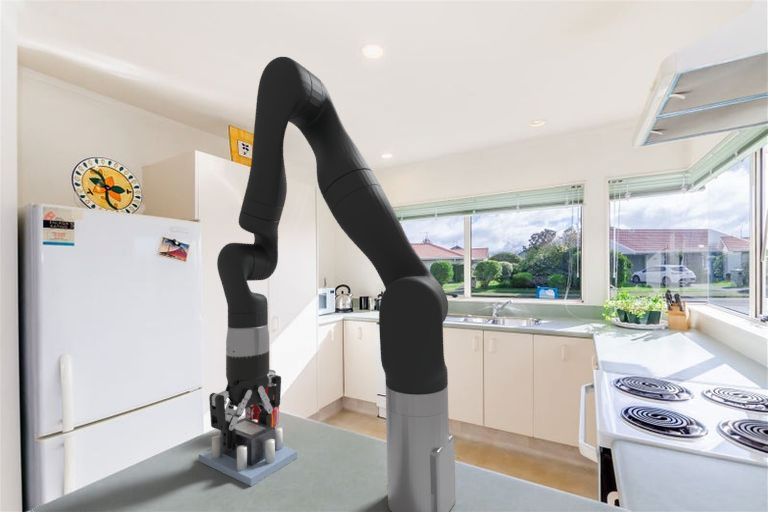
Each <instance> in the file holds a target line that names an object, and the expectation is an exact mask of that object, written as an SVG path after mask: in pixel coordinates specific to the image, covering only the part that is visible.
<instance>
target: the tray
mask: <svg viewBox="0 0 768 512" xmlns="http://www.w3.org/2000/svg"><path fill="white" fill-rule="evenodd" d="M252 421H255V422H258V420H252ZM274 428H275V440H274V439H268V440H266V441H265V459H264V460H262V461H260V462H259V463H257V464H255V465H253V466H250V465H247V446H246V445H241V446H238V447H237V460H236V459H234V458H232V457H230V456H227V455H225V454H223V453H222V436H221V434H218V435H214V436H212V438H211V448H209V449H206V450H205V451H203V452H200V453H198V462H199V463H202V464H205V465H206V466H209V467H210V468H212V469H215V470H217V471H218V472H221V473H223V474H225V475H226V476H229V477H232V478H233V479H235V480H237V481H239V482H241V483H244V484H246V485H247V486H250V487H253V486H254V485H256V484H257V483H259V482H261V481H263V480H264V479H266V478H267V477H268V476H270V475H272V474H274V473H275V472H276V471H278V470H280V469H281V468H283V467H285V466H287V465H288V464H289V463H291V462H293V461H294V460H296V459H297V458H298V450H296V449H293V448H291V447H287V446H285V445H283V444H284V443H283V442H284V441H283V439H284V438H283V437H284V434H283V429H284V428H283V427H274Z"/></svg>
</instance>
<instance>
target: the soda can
mask: <svg viewBox="0 0 768 512" xmlns="http://www.w3.org/2000/svg"><path fill="white" fill-rule="evenodd" d="M276 373H277V372H276V371H275V370H273V369H269V373H268V374H267V376H268V377H269V375H271V374H272V375H276ZM265 392H266V394H267V395H268V386H267V388H266V390H265ZM244 411H245V415H244V418H246V419H249V420H258V423H259V413H261V411H260V409H259V408H258V406H257V404H256V405H251V406H249V407H248V408H246V409H244ZM279 416H280V406H279V407H275V408H274V409H273V411H272V413H271V427H273V428H276V427H277V425H278V424H279V418H280V417H279Z"/></svg>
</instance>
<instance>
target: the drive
mask: <svg viewBox="0 0 768 512" xmlns="http://www.w3.org/2000/svg"><path fill="white" fill-rule="evenodd" d="M275 428H276V427H274V428H273V427H270V426H267V425H264V424H261V423H258V422H255V421H252V420H249V419H246V418H245V417H244V418H241V419H240V418H239V419H238V421H237V423H236V426H235V429H236V449H235V450H233V451H228V450H226V449H225V448H224V447H223V445H222V453H223V454H225V455H227V456H230V457H232V458H234V459H236V460H237V447H238V446H241V445H246V446H247V465H250V466H253V465H255V464H257V463H259V462H260V461H262V460H264V459H265V441H266V440H268V439H274V440H275ZM220 435H221V436H222V431H221V430H220ZM222 442H223V441H222Z"/></svg>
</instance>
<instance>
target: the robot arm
mask: <svg viewBox="0 0 768 512" xmlns="http://www.w3.org/2000/svg"><path fill="white" fill-rule="evenodd" d="M289 123H290V124H292V125H294V127H296V128H297V129H298V130H299V131H300V132H301V134H302V136H303V137H304V138H305V139H306V142H307V143H308V145H309V146H310V148H311V150H312V153H313V154H314V156H315V164H316V179H317V185H318V188H319V190H320V194H321V196H322V198H323V200H324V202H325V204H326V205H327V207H328V209H329V211H330V212H331V215H332V217H333V218H334V219H335V221H336V222H337V224H338V225H339V227H340V228H341V230H342V231H343V232H344V233H345V234H346V236H347V237H348V238H349V240H351V242H353V244H354V245H355V246H356V247H357V248H358V249H359V250H360V252H362V253H363V255H365V257H366V258H367V259H368V260H369V262H370V263H371V264H372V266H373V267H374V269H375V270H376V272H377V274H378V276H379V278H380V280H381V282H382V283H383V287H384V288H385V290H384V291H383V293H382V295H381V298H380V302H379V306H378V307H379V309H378V312H379V313H378V324H379V325H378V328H379V345H380V346H379V347H380V351H379V352H380V362H381V366H382V369H383V372H384V376H385V414H386V415H385V423H386V429H385V430H386V431H385V433H386V470H387V471H386V476H387V477H386V478H387V480H386V481H387V484H386V485H387V486H386V487H387V489H386V490H387V505H388V509H389V511H390V512H391V511H392V512H451V510H452V508H453V507H454V505H455V504H456V501H457V495H456V490H457V489H456V464H455V463H456V460H455V459H456V458H455V457H456V456H455V454H456V451H455V437H454V435H453V434H450V428H449V427H450V424H449V389H448V388H449V387H448V385H449V382H448V381H449V377H448V367H447V365H446V362H445V355H444V354H445V353H444V351H445V350H444V347H445V346H444V323H445V320H446V318H447V317H448V312H449V301H448V296H447V294H446V292H445V290H444V288H443V287H442V285H441V284H440V283H439V281H438V280H437V279H436V278H435V276H434V275H433V273H431V271H430V270H429V268H428V267H427V265H426V264H425V263H424V261H423V260H422V259H421V258H420V256H419V254H418V253H417V251H416V250H415V248H414V247H413V246H412V244H411V242H410V240H409V238H408V237H407V235H406V233H405V230H404V228H403V227H402V223H401V222H400V220H399V218H398V216H397V213H396V212H395V210H394V208H393V206H392V204H391V203H390V201H389V199H388V197H387V195H386V193H385V191H384V189H383V188H382V186H381V184H380V183H379V181H378V179H377V177H376V176H375V174H374V172H373V170H372V169H371V167H370V166H369V165H368V163H367V161H366V160H365V158H364V157H363V154H362V153H361V152H360V150H359V148H358V147H357V145H356V144H355V142H354V141H353V139H352V138H351V136H350V135H349V133H348V132H347V130H346V127H345V126H344V124H343V122H342V120H341V118H340V115H339V113H338V111H337V109H336V107H335V104H334V102H333V99H332V98H331V95H330V92H329V90H328V89H327V87H326V86H325V84H324V83H323V82H322V80H321V79H320V78H319V77H318V76H316V75H315V74H314V73H312V72H311V71H309V70H308V69H307V68H305V66H303V65H301V64H300V63H298V62H297V61H295V60H294V59H293V58H291V57H288V56H278V57H275V58H273V59H272V60H270V61H269V62H268V63H267V64H266V66H265V67H264V69H263V70H262V73H261V76H260V79H259V83H258V88H257V95H256V104H255V117H254V126H253V127H254V128H253V136H252V137H253V139H252V151H251V152H252V153H251V162H250V163H251V164H250V170H249V173H248V174H249V175H248V180H247V185H246V189H245V192H244V195H243V199H242V204H241V208H240V212H239V216H238V225H239V227H240V228H241V229H242V230H243V231H245V232H248V233H251V234H253V236H254V239H253V240H254V241H253V243H243V242H229V243H227V244H225V245H224V246H222V248H221V249H220V251H219V253H218V256H217V260H216V261H217V262H216V265H217V272H218V276H219V279H220V282H221V286H222V288H223V293H224V296H225V300H226V305H227V331H226V341H225V346H226V347H225V378H226V380H227V385H226V388H225V390H222V391H220V392H218V393H215V392H211V393H210V394H209V412H210V427H211V428H213V429H215V430H218V431H220V432H221V431H222V441H223V442H222V445H223V447H224V448H225V449H226V450H228V451H233V450H235V449H236V429H235V426H236V423H237V421H238V420H239V419H240V418H241V417H242V415H243V414H244V411H245V409H246V408H248V407H249V406H251V405H256V404H257V406H258V408H259V409H260V411H261V413H259V423H261V424H264V425H267V426H270V427H271V413H272V411H273V409H274V408H275V407H279V408H280V404H281V391H282V377H281V375H278V374H277V375H272V374H271V375H269V377H268V376H267V374H268V373H269V370H270V332H269V324H268V323H269V321H268V319H269V313H268V312H269V311H268V310H269V303H268V299H267V297H266V295H265V294H261V293H258V292H253V291H252V290H251V288H250V286H249V284H248V281H249V282H250V281H251V282H252V281H253V282H254V281H264V280H267V279H269V278H271V276H272V275H273V274H274V272H275V271H276V270H277V266H278V262H279V225H280V221H281V217H282V213H283V210H284V208H285V204H286V199H287V194H288V193H287V192H288V185H287V184H288V183H287V174H286V173H287V172H286V168H285V158H284V142H285V141H284V140H285V135H286V131H287V127H288V125H289ZM267 386H268V395H267V394H266V392H265V390H266V388H267ZM227 400H228V402H227ZM234 407H235V408H236V409H235V408H234Z"/></svg>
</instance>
